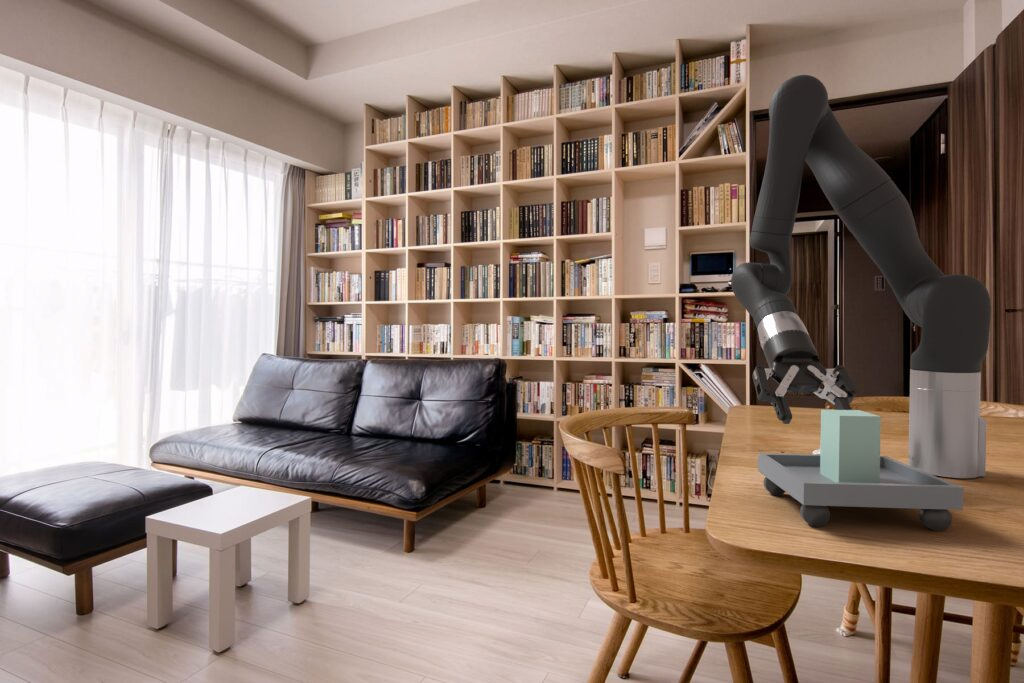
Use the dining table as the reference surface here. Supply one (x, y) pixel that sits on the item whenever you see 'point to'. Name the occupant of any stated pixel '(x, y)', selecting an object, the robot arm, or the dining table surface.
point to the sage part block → (850, 446)
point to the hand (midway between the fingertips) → (817, 421)
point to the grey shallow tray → (860, 489)
